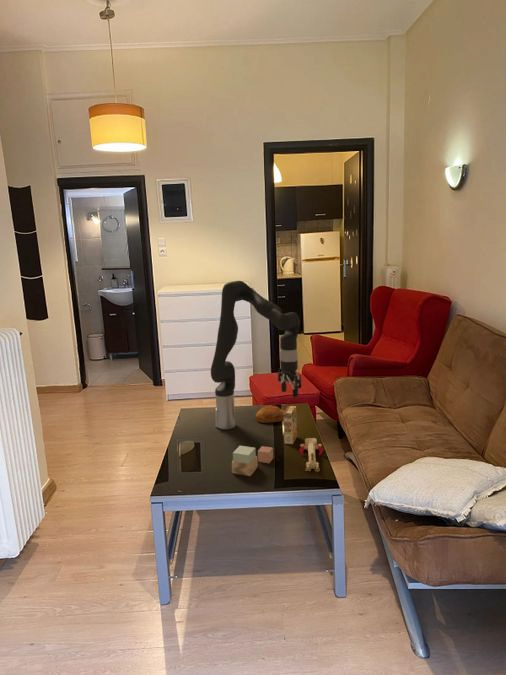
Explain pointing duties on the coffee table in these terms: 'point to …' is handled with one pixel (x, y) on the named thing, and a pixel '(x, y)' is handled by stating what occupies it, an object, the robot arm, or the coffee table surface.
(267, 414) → the bread roll
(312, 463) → the beige elongated piece
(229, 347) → the robot arm
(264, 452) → the terracotta cube
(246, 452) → the sage block
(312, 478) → the coffee table surface
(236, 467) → the oak block
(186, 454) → the coffee table surface
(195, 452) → the coffee table surface
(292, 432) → the candy box
